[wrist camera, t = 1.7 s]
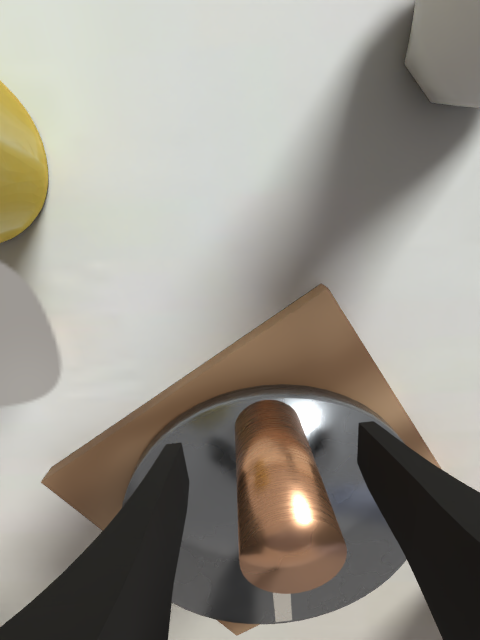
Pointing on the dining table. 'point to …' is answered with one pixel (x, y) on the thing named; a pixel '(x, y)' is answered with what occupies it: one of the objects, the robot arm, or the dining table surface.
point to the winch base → (229, 375)
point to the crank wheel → (275, 506)
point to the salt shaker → (446, 51)
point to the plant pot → (19, 167)
